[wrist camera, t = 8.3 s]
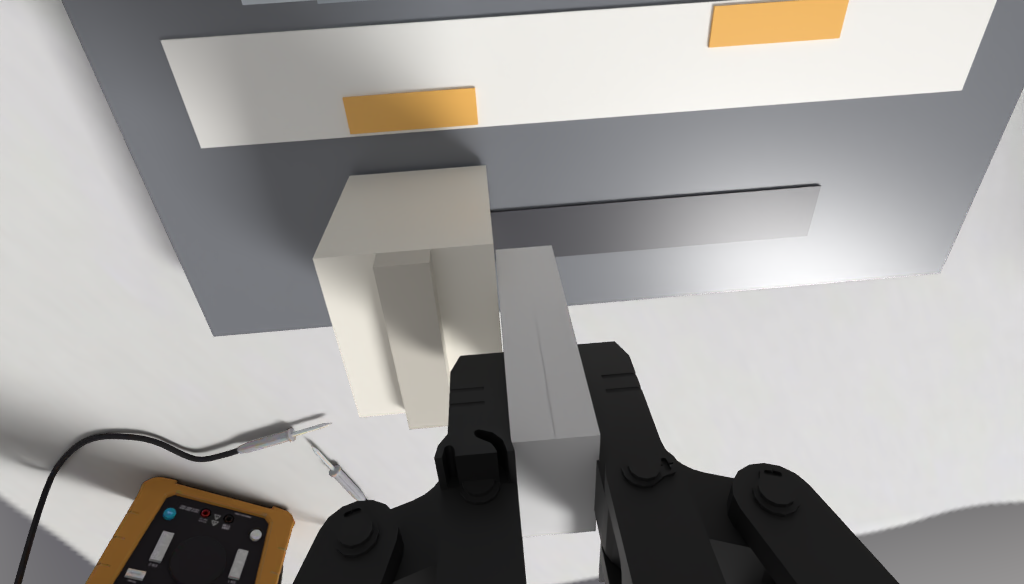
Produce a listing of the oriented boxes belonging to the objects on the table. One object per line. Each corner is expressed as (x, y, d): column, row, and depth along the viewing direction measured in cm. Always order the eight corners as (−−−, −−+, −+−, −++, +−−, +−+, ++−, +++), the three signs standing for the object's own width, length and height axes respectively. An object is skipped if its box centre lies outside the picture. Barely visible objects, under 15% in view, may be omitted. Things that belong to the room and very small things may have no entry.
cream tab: (485, 165, 16) (494, 257, 12) (497, 303, 19) (507, 420, 15) (349, 175, 16) (306, 273, 12) (381, 313, 19) (355, 434, 15)
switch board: (1119, -351, 13) (1252, -405, 11) (895, 240, 22) (944, 276, 20) (1, -294, 12) (-100, -341, 10) (237, 296, 21) (211, 339, 19)
